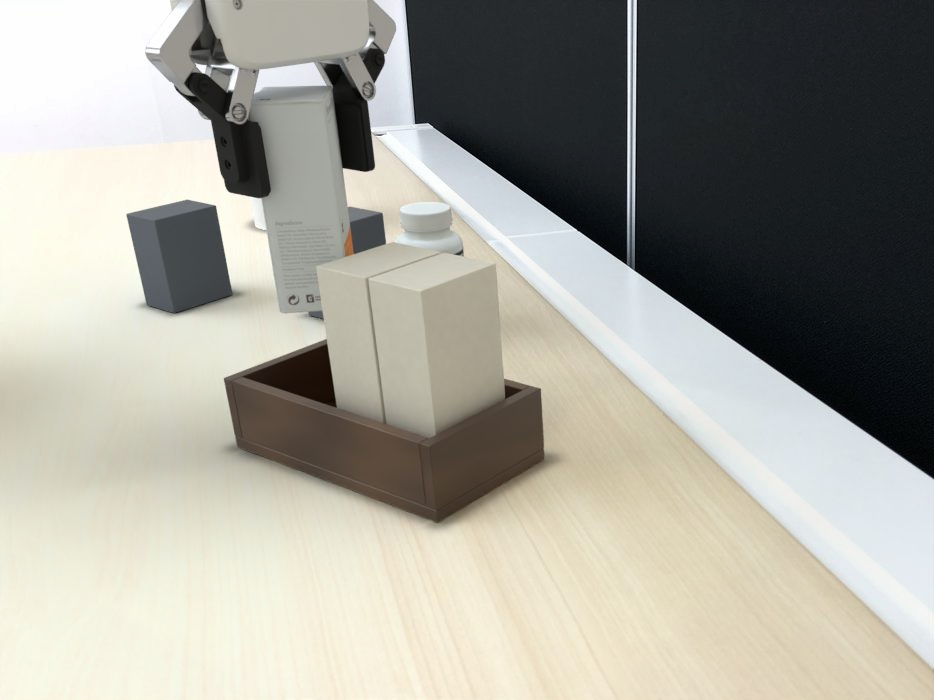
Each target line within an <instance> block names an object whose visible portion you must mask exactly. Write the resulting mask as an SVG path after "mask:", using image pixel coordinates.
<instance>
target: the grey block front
mask: <svg viewBox="0 0 934 700" xmlns="http://www.w3.org/2000/svg"><path fill="white" fill-rule="evenodd" d="M348 214H349V222H350V229H351V237H352V245H353V253H354V254H356V253H360V252H363V251H366V250H369V249H372V248H375V247H379V246H382V245H385V244H387V239H386V237H387V236H386V229H385V222H384V221H385V220H384V213H383V212H382V211H375V210H369V209H365V208H359V207H353V206H348ZM308 315H309V316H311V317H315V318H319V319H323V320H324V317H323V311H313V312H308Z"/></svg>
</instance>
